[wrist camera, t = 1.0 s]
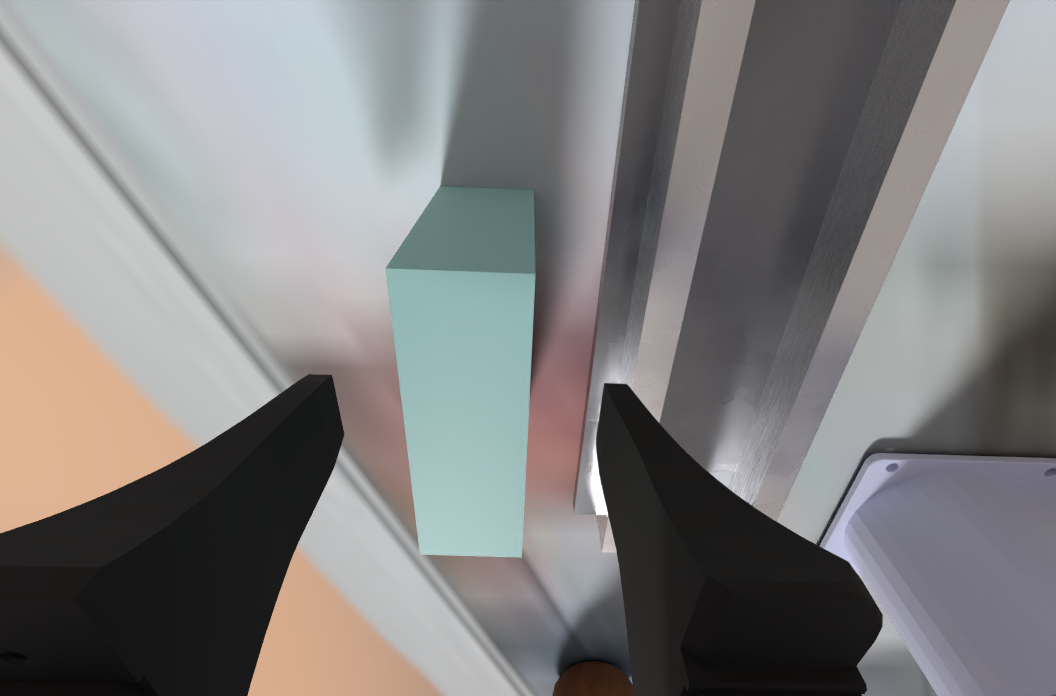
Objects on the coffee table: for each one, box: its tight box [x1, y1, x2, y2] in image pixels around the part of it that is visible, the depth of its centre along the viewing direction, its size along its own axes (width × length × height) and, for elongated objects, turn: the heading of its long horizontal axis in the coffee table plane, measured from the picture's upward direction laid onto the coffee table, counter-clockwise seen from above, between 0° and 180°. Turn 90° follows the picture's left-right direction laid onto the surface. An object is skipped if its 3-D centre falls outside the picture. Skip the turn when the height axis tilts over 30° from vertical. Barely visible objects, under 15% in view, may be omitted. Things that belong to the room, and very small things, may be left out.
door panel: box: [386, 186, 535, 557], centre depth 15 cm, size 3×9×7 cm, turn 178°
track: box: [573, 0, 1010, 553], centre depth 17 cm, size 9×22×3 cm, turn 178°
